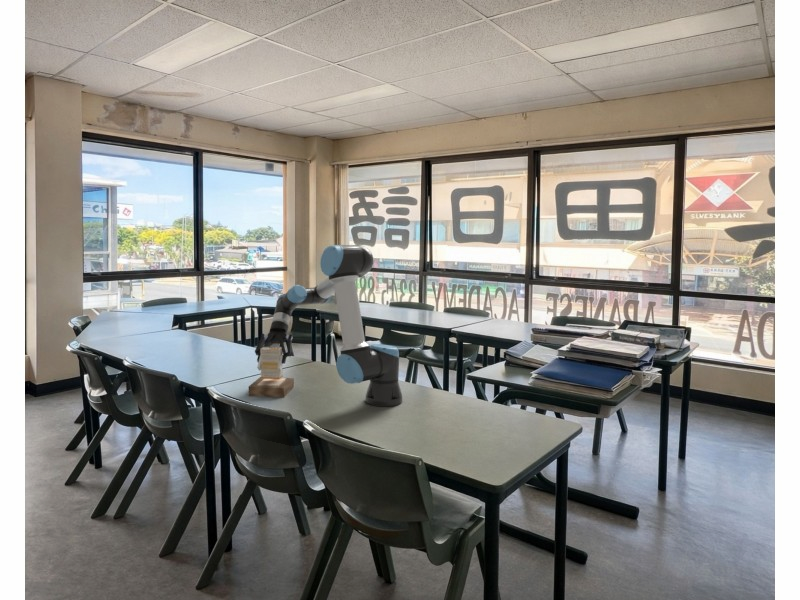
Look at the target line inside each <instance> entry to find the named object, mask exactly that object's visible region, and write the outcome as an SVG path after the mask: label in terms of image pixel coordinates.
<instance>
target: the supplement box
mask: <svg viewBox="0 0 800 600" xmlns="http://www.w3.org/2000/svg"><path fill="white" fill-rule="evenodd" d="M260 353H261V370H260V377H261V379H280V378H284V377H283V376H284V374H283V371H284V370H283V368H282V370H281V371H279V369H278V366H279V361H280V357H281V355H283V352H282V347H281V346H270V347H263V348H261V349H260Z"/></svg>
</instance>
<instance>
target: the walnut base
mask: <svg viewBox="0 0 800 600" xmlns="http://www.w3.org/2000/svg"><path fill="white" fill-rule="evenodd" d="M294 381H295V379H294V378H293V377H281V378H280V379H261V376H260V377H258V378H257V379H256V380H255V381H253V382H252V383H251V384H250V385H249V386H248V396H249V397H264V398H265V397H266V398H267V397H269V398H285V397H286V395H288V394H289V393H290V392H291V390H292V389H294V387H295V386H294V385H295V382H294Z"/></svg>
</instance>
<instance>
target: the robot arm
mask: <svg viewBox="0 0 800 600" xmlns="http://www.w3.org/2000/svg"><path fill="white" fill-rule="evenodd" d="M319 264H320V270H321V272H322V273H323V275H325V276H327V278H325V279H324V280H323V281H321V282H320V283H319V284H317V285H316V286H313V287H304V286H303V285H300V284H295V285H293V286H292V287H291V288H289V289H288V290H287V292H286V293H283V294H280V295H279V296H278V298H277V300H276V303H275V309H274V313H273V317H272V320H271V324H270V329H269V332H267V334H264V333H261V335H260V336H261V337H260V339H259V341H258V343H257V346H256V348H255V350H254V353H255V356H257V358H256V362H257V367H256V368H257V369H258V371H261V353H260V349H261V348H263V347H272V346H273V344H278V345H280V347H282V355H281V357H280V361H279V366H278V369H279V371H281V370H282V369H283V365H284V364H286V361H287V358H288V357H290V358H291V357H292V341H293V339H294V338H293V335H292V334H288V329H289V326H290V321H291V316H292V314H293V311H294V310H295V309H297V308H298V306H306V305H318V304H319V305H321V304H325V303H329V302H330V301H331V299H332V297H333V295H334V294H335V300H336V301H335V302H336V307H337V312H338V320H339V325H340V331H341V338H342V344H343V345H342V347H341V349H340V350H339V351H340V355H339V356H338V357H337V359H336V363H335V367H336V371H337V374H338V377H340V379H341V380H343V382H344V383H347V384H350V385H353V384H360V383H363V382H366V381H369V384H368V388H367V390H366V393H365V402H366V404H368V405H371V406H375V407H393V406H398V405H400V404H402V402H403V393H402V390H401V387H400V383H399V375H400V373H399V372H400V371H399V370H400V353H399V348H398V347H397V346H394V345H389V344H378V343H377V344H376V343H374V344H373V343H372V344H369V343H367V342H366V340H365V339H366V338H365V332H364V327H363V326H364V325H363V319H362V314H361V313H362V312H361V308H360V301H359V295H358V289H357V283H356V282H357V280H358V279H359V278H362V277H363V276H365V275H366V274H368V273H369V272H371V269H372V268H373V266H374V255H373V253H372V251H371V250H370V249H369V248H368V247H366V246H365V245H360V244H335V245H333V244H332V245H329V246H327V247H325V249H324V250H323V251H322V254H321V256H320V262H319ZM266 340H267V341H266ZM286 340H287V351H286V348H285V344H284V341H286Z"/></svg>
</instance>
